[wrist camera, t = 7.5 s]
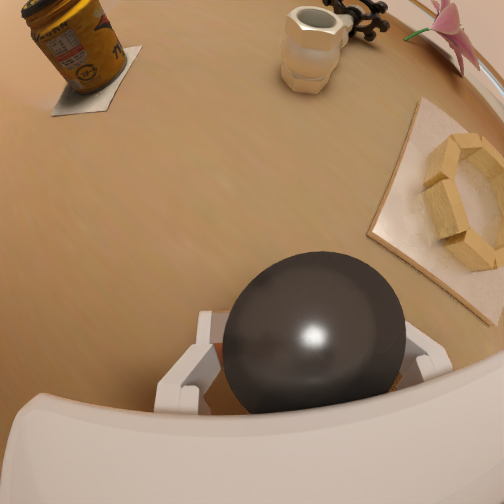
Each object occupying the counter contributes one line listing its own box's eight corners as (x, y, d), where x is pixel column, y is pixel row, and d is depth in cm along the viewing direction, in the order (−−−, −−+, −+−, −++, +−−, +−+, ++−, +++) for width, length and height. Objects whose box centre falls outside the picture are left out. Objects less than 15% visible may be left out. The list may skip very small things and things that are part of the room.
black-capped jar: (299, 373, 16) (342, 454, 6) (225, 332, 16) (187, 381, 7) (343, 300, 16) (432, 307, 7) (270, 257, 17) (286, 215, 7)
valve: (328, 114, 18) (379, 49, 19) (352, 53, 12) (400, 3, 13) (255, 76, 19) (321, 20, 20) (254, 13, 12) (331, -27, 13)
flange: (489, 325, 16) (516, 327, 12) (366, 234, 17) (389, 222, 13) (517, 192, 17) (538, 182, 14) (417, 102, 18) (434, 80, 15)
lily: (447, 107, 20) (516, 76, 11) (370, 15, 16) (439, -31, 8) (438, 73, 24) (488, 48, 16) (380, 7, 21) (429, -26, 13)
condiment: (143, 46, 20) (104, -44, 8) (107, 111, 19) (34, 15, 7) (87, 56, 20) (42, -16, 8) (51, 117, 19) (-19, 49, 7)
